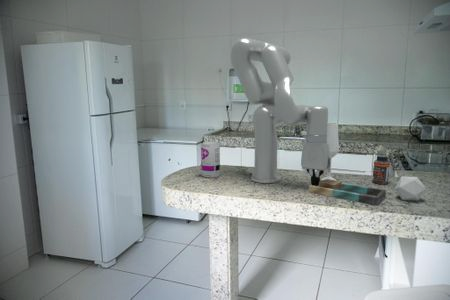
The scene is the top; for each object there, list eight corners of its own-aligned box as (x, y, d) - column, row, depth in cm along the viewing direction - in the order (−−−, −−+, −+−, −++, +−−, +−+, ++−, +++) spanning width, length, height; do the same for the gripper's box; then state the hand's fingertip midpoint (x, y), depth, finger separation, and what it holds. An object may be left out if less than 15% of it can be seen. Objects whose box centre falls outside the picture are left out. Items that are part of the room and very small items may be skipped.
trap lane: (308, 192, 122) (308, 185, 122) (320, 185, 131) (320, 179, 131) (377, 205, 108) (377, 198, 107) (385, 196, 117) (386, 190, 116)
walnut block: (318, 192, 123) (319, 181, 122) (326, 188, 127) (326, 178, 127) (333, 195, 119) (334, 185, 118) (341, 192, 123) (341, 181, 122)
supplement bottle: (370, 183, 134) (372, 156, 132) (373, 180, 139) (375, 153, 137) (386, 185, 130) (388, 157, 128) (389, 182, 135) (391, 155, 133)
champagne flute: (319, 181, 136) (322, 124, 132) (321, 177, 143) (323, 122, 138) (336, 183, 134) (340, 124, 130) (337, 179, 140) (340, 123, 136)
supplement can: (206, 179, 141) (206, 144, 139) (198, 175, 148) (198, 142, 146) (223, 176, 145) (222, 143, 143) (214, 172, 152) (214, 140, 150)
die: (419, 207, 108) (434, 182, 109) (395, 192, 110) (410, 168, 111) (409, 207, 116) (423, 184, 117) (387, 193, 118) (401, 171, 119)
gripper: (293, 138, 125) (292, 185, 128) (332, 141, 116) (330, 191, 119) (302, 136, 131) (301, 181, 134) (339, 139, 122) (337, 187, 125)
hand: (315, 186), depth 126 cm, fingers closed
